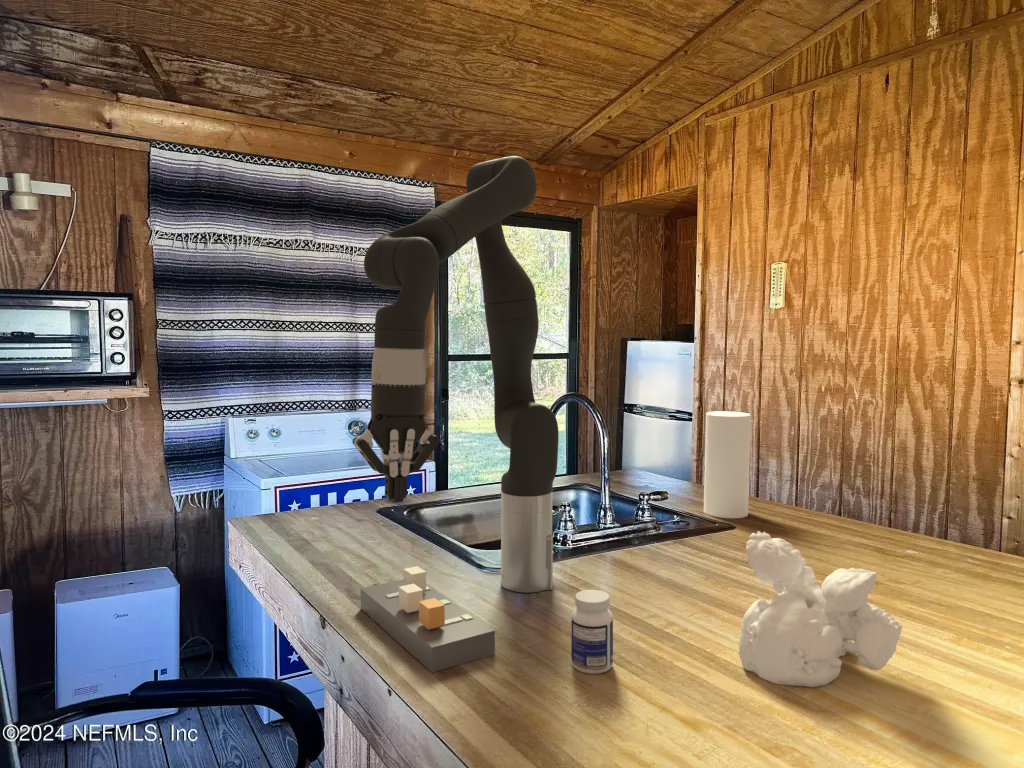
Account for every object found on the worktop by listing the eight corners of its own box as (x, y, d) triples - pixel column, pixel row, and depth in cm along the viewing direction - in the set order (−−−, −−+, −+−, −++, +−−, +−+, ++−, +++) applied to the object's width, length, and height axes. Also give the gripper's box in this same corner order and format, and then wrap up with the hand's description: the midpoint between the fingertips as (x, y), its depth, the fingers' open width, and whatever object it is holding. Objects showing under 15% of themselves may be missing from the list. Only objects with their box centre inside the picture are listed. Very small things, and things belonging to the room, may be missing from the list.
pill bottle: (586, 652, 104) (586, 584, 103) (620, 664, 100) (621, 594, 100) (562, 666, 100) (563, 596, 99) (598, 679, 96) (599, 606, 95)
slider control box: (347, 597, 125) (347, 576, 124) (401, 586, 130) (401, 566, 130) (432, 672, 98) (432, 646, 98) (494, 654, 103) (494, 629, 103)
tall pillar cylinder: (719, 505, 188) (722, 410, 186) (756, 513, 180) (759, 414, 178) (694, 511, 182) (697, 413, 180) (731, 520, 173) (734, 417, 171)
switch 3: (428, 629, 102) (428, 608, 102) (419, 621, 105) (418, 601, 105) (444, 625, 103) (444, 605, 103) (434, 617, 106) (434, 597, 106)
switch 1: (412, 592, 116) (411, 574, 116) (403, 586, 119) (403, 568, 118) (426, 589, 117) (426, 571, 117) (417, 583, 120) (417, 566, 120)
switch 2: (407, 612, 108) (407, 593, 108) (398, 605, 111) (398, 586, 110) (423, 609, 109) (422, 589, 109) (413, 602, 112) (413, 583, 112)
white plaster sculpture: (693, 606, 98) (767, 510, 107) (729, 697, 107) (795, 601, 116) (829, 663, 83) (900, 547, 93) (857, 764, 92) (920, 648, 102)
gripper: (430, 378, 109) (426, 492, 110) (344, 378, 102) (341, 500, 103) (452, 382, 102) (448, 503, 103) (363, 382, 95) (359, 512, 96)
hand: (395, 501), depth 103 cm, fingers closed
